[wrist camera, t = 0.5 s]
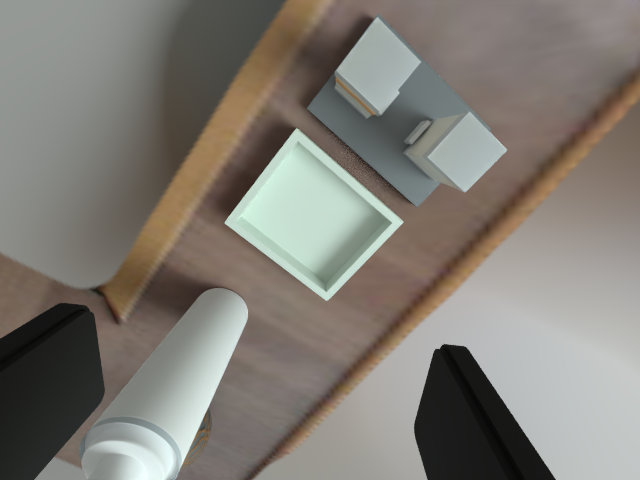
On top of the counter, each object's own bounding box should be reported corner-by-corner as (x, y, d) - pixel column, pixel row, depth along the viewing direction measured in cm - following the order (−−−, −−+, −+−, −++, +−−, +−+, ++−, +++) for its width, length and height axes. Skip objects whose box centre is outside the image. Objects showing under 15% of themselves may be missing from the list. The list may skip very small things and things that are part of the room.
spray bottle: (216, 342, 40) (51, 642, 16) (184, 302, 38) (-55, 573, 14) (258, 319, 38) (147, 608, 15) (227, 277, 37) (43, 528, 13)
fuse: (432, 119, 29) (469, 111, 22) (461, 147, 30) (507, 150, 22) (402, 152, 30) (427, 157, 23) (431, 179, 31) (464, 192, 24)
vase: (175, 384, 42) (138, 444, 34) (223, 399, 43) (198, 462, 34) (164, 419, 44) (126, 484, 36) (210, 433, 45) (183, 500, 36)
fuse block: (375, 19, 28) (382, 3, 25) (484, 130, 31) (503, 129, 28) (307, 109, 31) (305, 106, 27) (413, 204, 33) (422, 211, 30)
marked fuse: (363, 50, 28) (377, 16, 20) (396, 83, 28) (421, 61, 21) (334, 89, 29) (336, 70, 21) (366, 119, 29) (379, 111, 22)
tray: (299, 129, 31) (296, 128, 28) (397, 215, 34) (403, 222, 31) (232, 216, 34) (224, 222, 32) (327, 288, 37) (327, 301, 34)
